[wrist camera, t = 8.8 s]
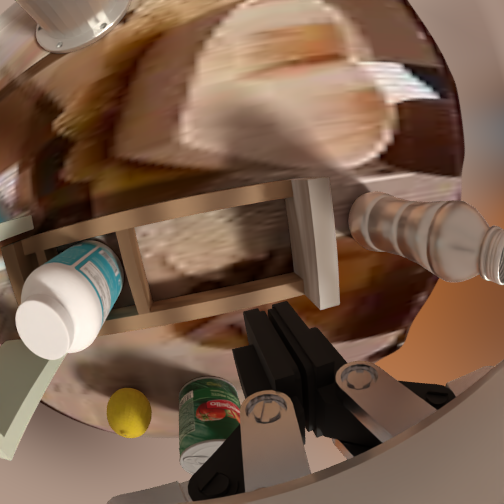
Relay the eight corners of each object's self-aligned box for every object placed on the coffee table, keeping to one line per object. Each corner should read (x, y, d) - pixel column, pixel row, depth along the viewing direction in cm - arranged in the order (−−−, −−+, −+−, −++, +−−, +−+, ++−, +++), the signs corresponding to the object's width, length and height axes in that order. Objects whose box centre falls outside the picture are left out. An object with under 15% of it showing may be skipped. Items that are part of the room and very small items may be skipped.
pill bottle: (59, 288, 27) (-1, 347, 14) (74, 228, 26) (4, 261, 13) (116, 314, 29) (79, 390, 16) (135, 254, 28) (95, 308, 15)
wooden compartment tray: (51, 331, 27) (29, 361, 21) (21, 239, 24) (-12, 253, 18) (311, 281, 32) (339, 304, 26) (300, 177, 29) (329, 177, 23)
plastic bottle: (341, 248, 32) (478, 317, 13) (340, 190, 31) (493, 211, 12) (384, 242, 34) (516, 295, 15) (384, 189, 32) (527, 209, 13)
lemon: (116, 404, 31) (107, 446, 24) (110, 373, 30) (96, 416, 23) (155, 407, 33) (152, 451, 25) (151, 377, 32) (146, 422, 24)
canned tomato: (242, 377, 34) (261, 440, 23) (233, 418, 36) (248, 478, 25) (179, 373, 32) (180, 439, 22) (177, 415, 34) (179, 478, 23)
